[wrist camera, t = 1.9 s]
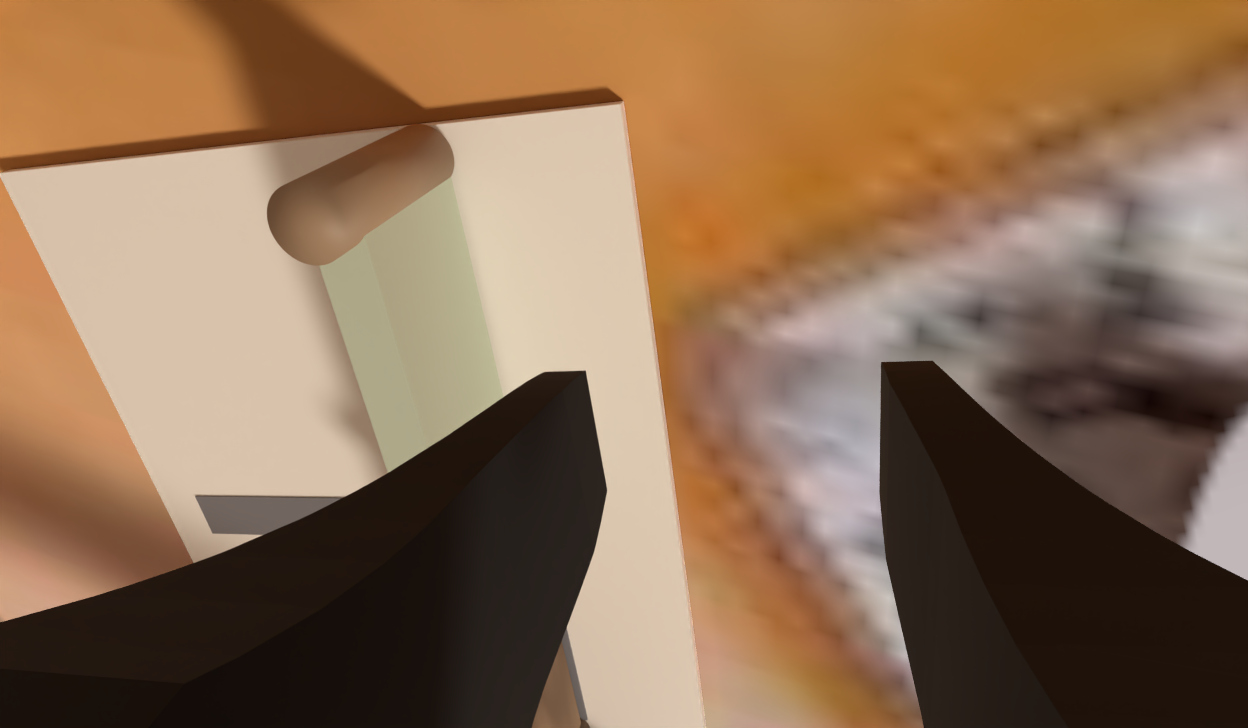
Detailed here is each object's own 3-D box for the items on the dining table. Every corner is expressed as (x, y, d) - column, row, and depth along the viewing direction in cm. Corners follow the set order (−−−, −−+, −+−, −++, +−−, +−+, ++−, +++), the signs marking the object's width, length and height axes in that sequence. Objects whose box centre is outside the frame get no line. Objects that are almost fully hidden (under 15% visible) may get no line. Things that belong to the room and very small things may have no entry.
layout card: (707, 737, 28) (706, 749, 28) (272, 700, 32) (265, 710, 32) (624, 100, 18) (619, 104, 18) (10, 169, 22) (-4, 174, 22)
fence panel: (533, 495, 23) (469, 627, 19) (483, 495, 24) (410, 624, 19) (445, 120, 18) (331, 179, 14) (384, 127, 19) (254, 185, 14)
